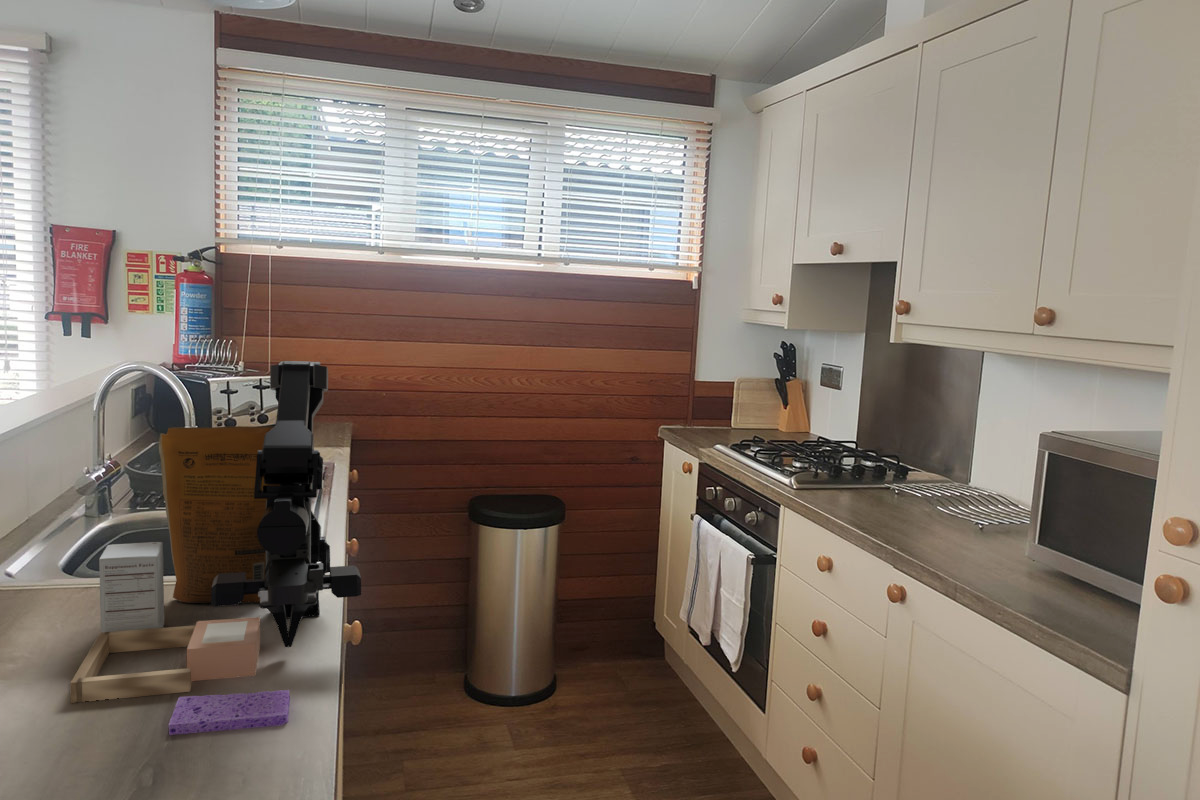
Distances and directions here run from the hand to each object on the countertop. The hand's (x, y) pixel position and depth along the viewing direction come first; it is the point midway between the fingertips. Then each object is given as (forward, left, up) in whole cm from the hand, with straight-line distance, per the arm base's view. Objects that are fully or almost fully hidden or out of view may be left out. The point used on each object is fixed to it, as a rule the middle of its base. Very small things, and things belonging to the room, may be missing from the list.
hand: (288, 646), depth 118 cm
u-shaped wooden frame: (+17, 0, -2) cm, 17 cm away
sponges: (+6, +16, -2) cm, 17 cm away
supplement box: (+21, -13, -2) cm, 25 cm away
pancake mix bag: (+10, -25, -2) cm, 27 cm away
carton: (+8, 0, -2) cm, 8 cm away
